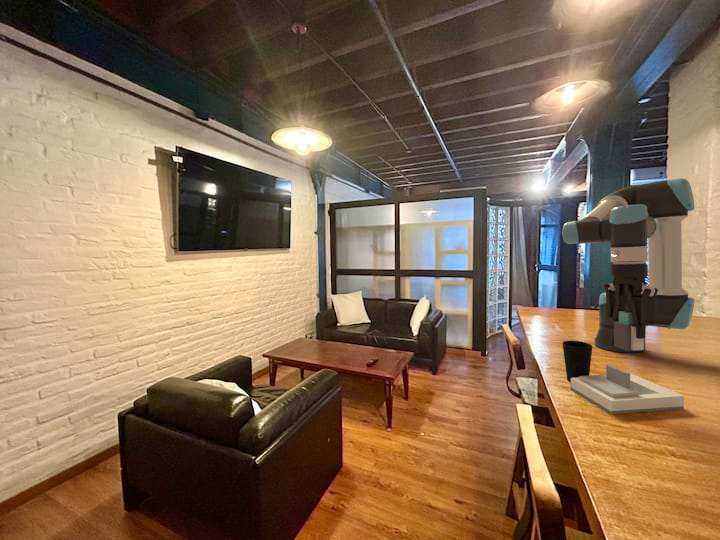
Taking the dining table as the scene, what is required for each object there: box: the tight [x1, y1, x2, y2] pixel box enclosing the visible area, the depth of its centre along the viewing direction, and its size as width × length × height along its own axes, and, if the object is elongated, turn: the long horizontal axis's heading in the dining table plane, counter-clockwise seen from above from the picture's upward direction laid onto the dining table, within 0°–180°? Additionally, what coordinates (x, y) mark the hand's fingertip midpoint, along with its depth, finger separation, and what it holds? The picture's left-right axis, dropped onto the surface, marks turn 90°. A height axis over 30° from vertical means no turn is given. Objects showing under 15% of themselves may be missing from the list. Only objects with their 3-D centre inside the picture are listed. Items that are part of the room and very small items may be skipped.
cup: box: [561, 340, 593, 383], centre depth 94 cm, size 8×8×12 cm
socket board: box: [570, 373, 685, 415], centre depth 82 cm, size 19×14×4 cm
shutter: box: [579, 364, 640, 397], centre depth 82 cm, size 7×11×5 cm, turn 2°
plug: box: [614, 304, 646, 351], centre depth 81 cm, size 5×4×12 cm
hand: (629, 346), depth 81 cm, fingers closed on plug, 4 cm apart
